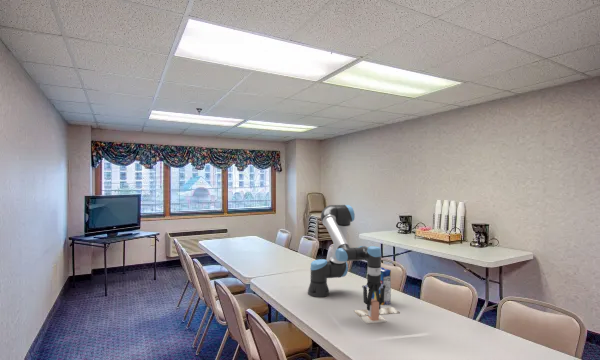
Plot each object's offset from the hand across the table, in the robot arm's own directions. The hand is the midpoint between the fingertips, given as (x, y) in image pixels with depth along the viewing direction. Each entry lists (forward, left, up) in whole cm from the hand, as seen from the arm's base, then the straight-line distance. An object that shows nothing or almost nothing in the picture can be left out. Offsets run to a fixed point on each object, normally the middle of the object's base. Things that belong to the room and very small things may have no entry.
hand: (373, 315), depth 184 cm
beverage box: (+19, +28, -4) cm, 34 cm away
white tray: (+7, +5, -4) cm, 9 cm away
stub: (0, 0, -3) cm, 3 cm away
